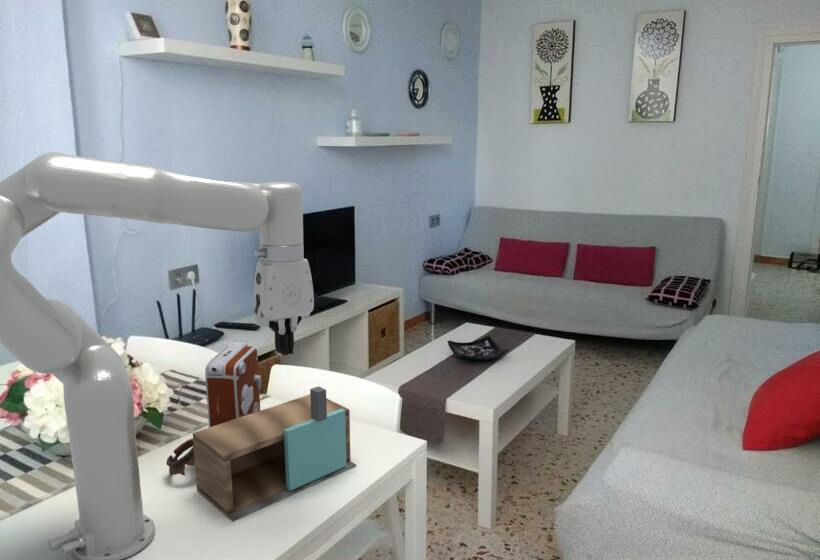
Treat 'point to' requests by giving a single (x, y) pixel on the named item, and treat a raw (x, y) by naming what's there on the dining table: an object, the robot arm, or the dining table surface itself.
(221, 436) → the cabinet
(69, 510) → the dining table surface
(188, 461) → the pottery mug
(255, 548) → the dining table surface
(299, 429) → the door
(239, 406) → the cine camera
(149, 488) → the dining table surface
